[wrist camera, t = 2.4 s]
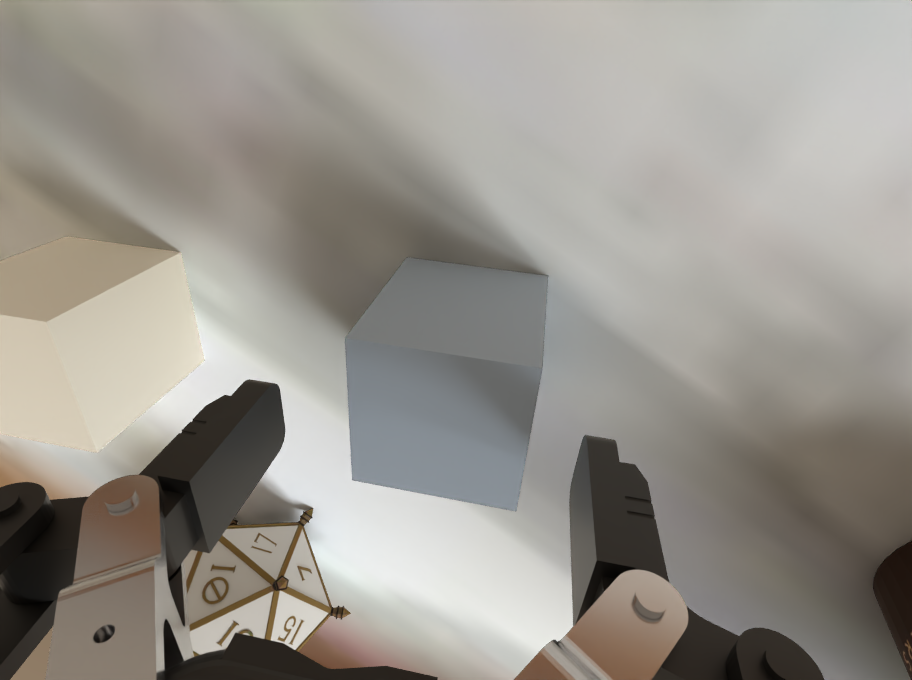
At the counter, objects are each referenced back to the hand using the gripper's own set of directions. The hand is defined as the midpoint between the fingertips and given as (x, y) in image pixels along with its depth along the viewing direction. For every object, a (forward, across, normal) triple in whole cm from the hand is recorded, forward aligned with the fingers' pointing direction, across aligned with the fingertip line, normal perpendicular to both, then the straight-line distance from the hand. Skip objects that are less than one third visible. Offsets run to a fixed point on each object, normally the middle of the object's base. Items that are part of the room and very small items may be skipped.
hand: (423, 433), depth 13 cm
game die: (+7, +9, +14) cm, 18 cm away
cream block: (+7, +14, +1) cm, 15 cm away
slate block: (+7, 0, 0) cm, 7 cm away
